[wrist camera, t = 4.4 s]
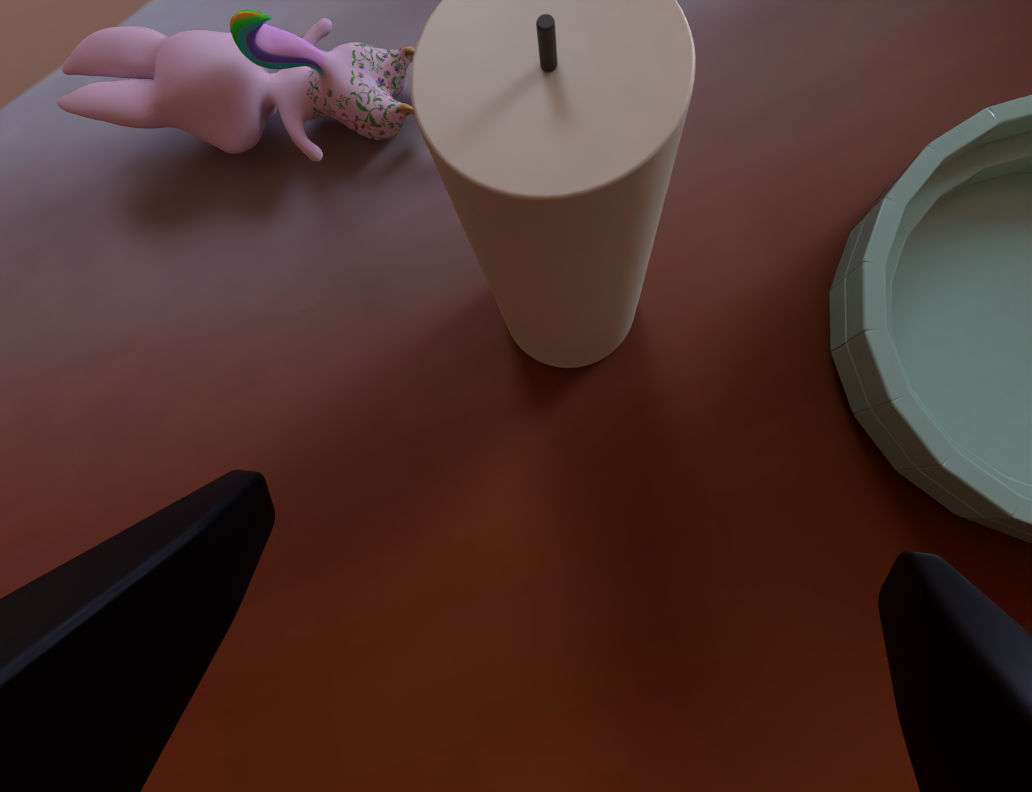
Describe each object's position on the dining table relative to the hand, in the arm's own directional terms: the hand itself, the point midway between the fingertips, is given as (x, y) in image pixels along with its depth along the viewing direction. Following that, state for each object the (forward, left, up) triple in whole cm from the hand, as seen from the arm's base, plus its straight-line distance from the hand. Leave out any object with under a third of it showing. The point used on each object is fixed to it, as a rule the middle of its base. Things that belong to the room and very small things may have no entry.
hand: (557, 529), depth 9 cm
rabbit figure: (-8, +19, -14) cm, 25 cm away
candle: (+2, +8, -14) cm, 16 cm away
